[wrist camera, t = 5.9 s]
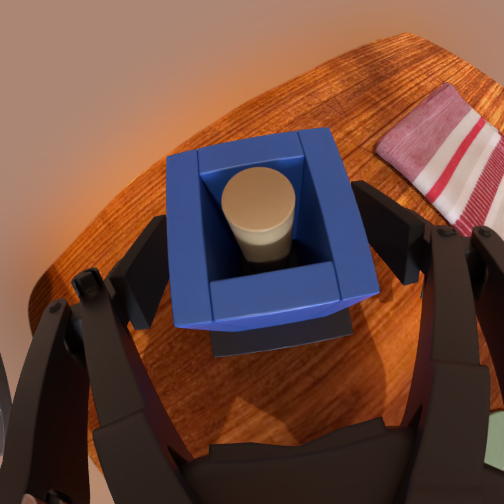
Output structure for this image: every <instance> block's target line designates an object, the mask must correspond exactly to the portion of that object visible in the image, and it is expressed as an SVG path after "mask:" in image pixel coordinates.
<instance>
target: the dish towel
mask: <svg viewBox="0 0 504 504" xmlns="http://www.w3.org/2000/svg"><path fill="white" fill-rule="evenodd" d="M376 147H377V148H376V150H375V151H376V153H378V154H379V155H380V156H381V157H382V158H383V159H384V160H385V161H387V162H389V163H390V164H391V165H392V166H393V167H395V168H396V169H397V170H398V171H399V172H400V173H401V174H402V175H404V176H405V177H406V178H407V179H408V180H409V181H410V182H411V183H412V184H413V185H414V186H415V187H416V188H417V189H418V190H419V191H420V192H421V193H422V194H423V195H424V196H425V197H426V198H427V200H428V201H429V202H430V203H431V204H432V205H433V206H434V207H435V208H436V209H437V210H438V211H439V212H440V213H441V214H442V215H443V216H444V217H445V218H446V219H447V220H448V221H449V223H450V224H451V225H452V226H453V227H454V228H455V229H456V230H457V231H458V232H459V234H460V235H461V236H462V237H471V234H472V229H473V227H475V226H483V225H484V226H488V227H490V228H491V229H493V230H494V231H495V232H496V233H497V234H498V235H499V236H500V237H501V238H502V240H503V241H504V135H503V134H502V133H501V132H500V131H498V130H497V129H496V128H495V127H494V126H492V125H491V124H489V123H488V122H487V121H486V120H484V119H483V118H482V116H481V115H480V114H478V113H477V112H476V111H475V110H474V109H473V108H472V107H471V106H470V105H469V104H468V103H467V102H466V101H465V100H464V99H463V98H462V97H461V96H460V94H459V93H458V91H457V90H456V89H455V88H454V86H453V85H452V84H449V83H448V82H446V83H443V85H442V86H440V87H439V88H438V89H436V90H435V91H433V92H432V93H431V94H430V95H429V96H428V97H427V98H426V99H425V100H424V101H422V102H421V103H420V104H419V105H418V106H416V107H415V108H414V109H413V110H412V111H411V112H410V113H409V114H408V115H407V116H406V117H404V118H403V119H402V120H401V121H400V122H399V123H397V124H396V125H395V126H394V127H393V128H392V129H390V130H389V131H388V132H387V133H386V134H385V135H384V136H382V137H381V138H380V140H379V141H378V142H377V144H376Z"/></svg>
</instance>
